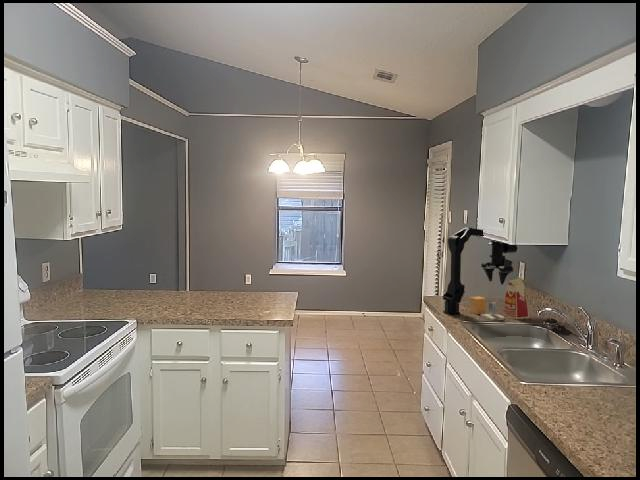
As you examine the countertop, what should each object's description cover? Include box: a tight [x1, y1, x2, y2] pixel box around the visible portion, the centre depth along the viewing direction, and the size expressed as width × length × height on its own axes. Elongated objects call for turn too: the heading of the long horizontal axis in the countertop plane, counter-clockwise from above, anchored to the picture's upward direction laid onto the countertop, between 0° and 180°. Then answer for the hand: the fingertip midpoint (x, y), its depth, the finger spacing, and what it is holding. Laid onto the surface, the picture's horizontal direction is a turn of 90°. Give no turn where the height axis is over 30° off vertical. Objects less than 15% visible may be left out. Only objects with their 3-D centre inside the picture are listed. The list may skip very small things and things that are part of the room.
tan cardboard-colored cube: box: [469, 296, 487, 315], centre depth 245 cm, size 6×6×8 cm
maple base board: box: [480, 312, 506, 322], centre depth 234 cm, size 7×9×1 cm
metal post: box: [488, 301, 498, 316], centre depth 234 cm, size 3×3×6 cm
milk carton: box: [503, 276, 530, 320], centre depth 235 cm, size 9×9×20 cm
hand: (496, 282), depth 251 cm, fingers open, 9 cm apart
